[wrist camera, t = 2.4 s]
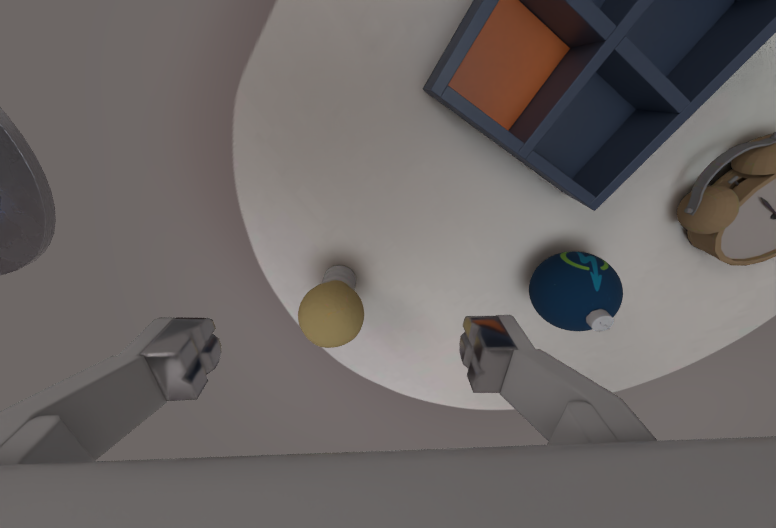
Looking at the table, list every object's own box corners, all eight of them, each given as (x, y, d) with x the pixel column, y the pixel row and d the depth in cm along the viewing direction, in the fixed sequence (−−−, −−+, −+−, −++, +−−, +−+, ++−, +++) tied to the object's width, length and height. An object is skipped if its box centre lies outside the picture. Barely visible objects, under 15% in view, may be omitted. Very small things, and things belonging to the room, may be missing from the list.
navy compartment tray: (422, 89, 26) (430, 90, 21) (590, -204, 18) (657, -299, 13) (564, 193, 30) (594, 211, 26) (745, -2, 23) (831, -23, 18)
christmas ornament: (606, 253, 34) (681, 310, 25) (558, 306, 38) (608, 370, 29) (548, 227, 32) (606, 278, 24) (503, 285, 36) (540, 346, 28)
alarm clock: (745, 281, 33) (689, 229, 26) (701, 256, 37) (642, 205, 30) (871, 196, 28) (838, 106, 21) (803, 177, 32) (759, 97, 25)
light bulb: (374, 290, 36) (371, 352, 28) (327, 302, 37) (309, 366, 29) (356, 246, 33) (346, 301, 25) (304, 261, 34) (277, 319, 26)
